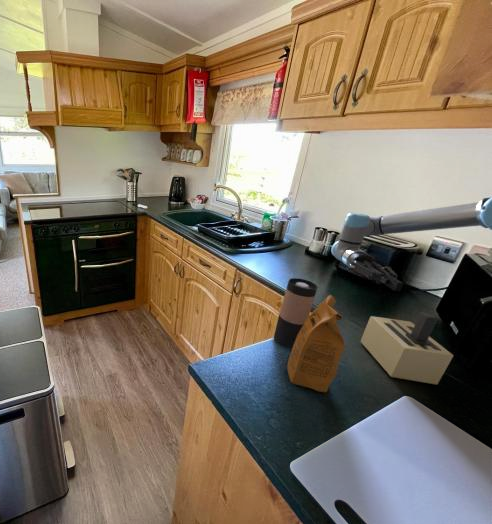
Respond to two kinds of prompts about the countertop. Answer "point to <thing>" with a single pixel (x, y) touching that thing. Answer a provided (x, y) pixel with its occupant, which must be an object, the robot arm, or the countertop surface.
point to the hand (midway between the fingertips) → (398, 287)
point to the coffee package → (317, 349)
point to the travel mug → (294, 311)
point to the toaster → (404, 351)
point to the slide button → (423, 329)
